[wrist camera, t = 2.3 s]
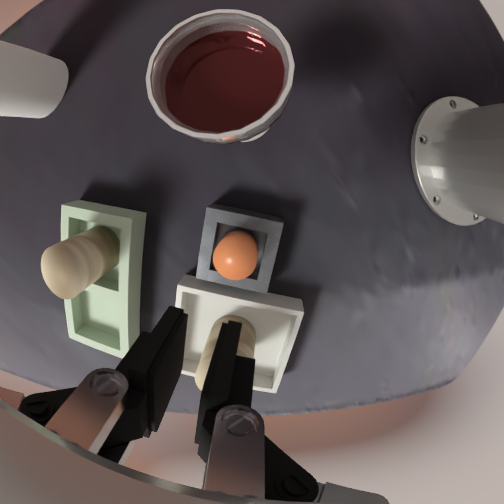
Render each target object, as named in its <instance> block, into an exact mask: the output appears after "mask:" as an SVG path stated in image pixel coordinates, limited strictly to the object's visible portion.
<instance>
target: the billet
mask: <svg viewBox="0 0 504 504" xmlns="http://www.w3.org/2000/svg"><path fill="white" fill-rule="evenodd" d="M229 320H232V321H236V322H241V323H242V328H241V333H240V339H239V344H238V349H237V354H236V355H238V356H243V357H248V358H253V359H254V350H255V340H256V332H255V329H254V327H253V325H252V324H251V323H250V322H249V321H248V320H246V319H245V318H243V317H240V316H236V315H227V316H223V317H221V318H219V319H218V320H216V321H215V323H214V324H213V326H212V328H211V331H210V334H209V337H208V339H207V342H206V345H205V348H204V351H203V353H202V356H201V359H200V362H199V365H198V367H197V370H196V373H195V381H196V384H197V386H198V387H199V389H200V390H201V391H202V388H203V384H204V381H205V378H206V374H207V371H208V368H209V365H210V361H211V358H212V355H213V351H214V348H215V345H216V342H217V338H218V335H219V332H220V329H221V326H222V322H224V323H228V321H229Z"/></svg>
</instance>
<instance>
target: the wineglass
mask: <svg viewBox="0 0 504 504" xmlns="http://www.w3.org/2000/svg"><path fill="white" fill-rule="evenodd" d="M293 73H294V61H293V57H292V53H291V49H290V45H289V44H288V42H287V41H286V39H285V38H284V37H283V35H282V34H281V32H280V31H279V30H278V28H276V27H275V26H274V25H272V24H271V23H269V22H268V21H266V20H265V19H263V18H262V17H261V16H258V15H254V14H251V13H248V12H245V11H241V10H220V9H217V10H213V11H209V12H205V13H201V14H197V15H194V16H192V17H190V18H189V19H187V20H185V21H183V22H181V23H180V24H178V25H176V26H175V27H174V28H173V29H172V30H171V31H170V32H169V33H168V34H166V35H165V36H164V37H163V38H162V39H161V40H160V42H159V44H158V45H157V47H156V49H155V51H154V52H153V54H152V56H151V58H150V61H149V65H148V70H147V75H146V84H147V91H148V98H149V100H150V102H151V103H152V105H153V107H154V109H155V111H156V113H157V115H158V116H159V117H161V118H162V119H163V120H164V121H165V122H166V123H167V124H169V125H170V126H171V127H172V128H173V129H175V130H178V131H180V132H183V133H185V134H187V135H189V136H191V137H194V138H196V139H199V140H201V141H203V142H209V143H220V144H230V143H236V142H247V141H253V140H255V139H257V138H259V137H261V136H262V135H263V134H264V133H265V132H266V131H267V130H268V129H269V127H270V126H271V125H272V124H273V123H274V122H275V121H276V120H277V119H278V118H279V117H281V115H282V113H283V111H284V109H285V107H286V105H287V103H288V101H289V99H290V96H291V88H292V81H293Z"/></svg>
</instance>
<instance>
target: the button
mask: <svg viewBox="0 0 504 504" xmlns="http://www.w3.org/2000/svg"><path fill="white" fill-rule="evenodd" d="M257 257H258V244H257V241H256V240H255V238H254V237H253V236H252V235H251V234H249V233H248V232H246V231H242V230H234V231H231V232H229V233H227V234H226V235H225V236H224V237H223V238H222V239H221V241H220V242H219V244H218V245H217V247H216V249H215V251H214V254H213V263H214V266H215V268H216V270H217V271H218V272H219V273H220V274H221V275H222V276H223V277H225V278H227V279H230V280H241V279H244V278H246V277H248V276H249V275H250V274H251V273H252V272H253V271H254V269H255V267H256V263H257Z"/></svg>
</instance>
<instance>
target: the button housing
mask: <svg viewBox="0 0 504 504" xmlns="http://www.w3.org/2000/svg"><path fill="white" fill-rule="evenodd" d="M283 224H284V222H283V218H282V217H278V216H273V215H269V214H264V213H260V212H255V211H250V210H245V209H241V208H236V207H231V206H226V205H221V204H216V203H212V204H211V205H209V206H208V207H207V209H206V215H205V221H204V227H203V233H202V239H201V246H200V252H199V259H198V266H197V273H196V278H197V279H202V280H206V281H210V282H215V283H219V284H224V285H228V286H233V287H237V288H242V289H246V290H251V291H256V292H261V293H265V294H267V291H268V287H269V282H270V278H271V274H272V270H273V266H274V262H275V258H276V254H277V250H278V245H279V241H280V237H281V233H282V229H283ZM234 230H242V231H246V232H248V233H249V234H251V235H252V236H253V237H254V238H255V240H256V241H257V244H258V257H257V263H256V267H255V269H254V271H253V272H252V273H251V274H250V275H249V276H248V277H246V278H244V279H241V280H230V279H227V278H225V277H223V276H222V275H221V274H220V273H219V272H218V271H217V270H216V268H215V266H214V263H213V254H214V251H215V249H216V247H217V245H218V244H219V242H220V241H221V239H222V238H223V237H224V236H225V235H226V234H227V233H229V232H231V231H234Z"/></svg>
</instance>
